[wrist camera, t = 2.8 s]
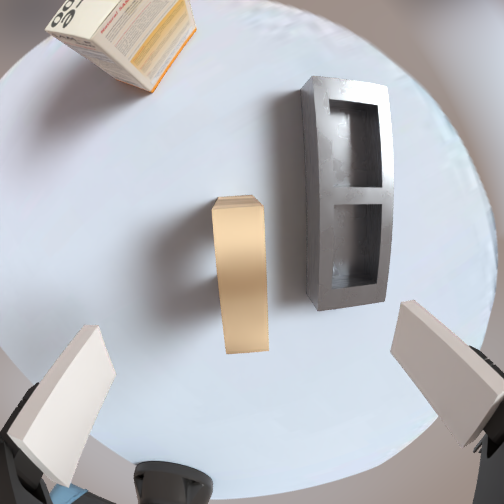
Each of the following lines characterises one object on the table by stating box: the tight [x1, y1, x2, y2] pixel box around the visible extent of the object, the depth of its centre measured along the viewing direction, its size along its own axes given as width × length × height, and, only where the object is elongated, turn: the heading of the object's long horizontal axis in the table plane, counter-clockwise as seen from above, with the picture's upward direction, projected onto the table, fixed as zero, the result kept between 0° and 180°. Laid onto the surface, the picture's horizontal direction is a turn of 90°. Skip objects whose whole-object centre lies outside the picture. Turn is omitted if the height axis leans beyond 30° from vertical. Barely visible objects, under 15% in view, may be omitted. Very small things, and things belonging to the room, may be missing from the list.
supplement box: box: [45, 0, 197, 93], centre depth 14 cm, size 8×5×13 cm, turn 150°
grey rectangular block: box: [300, 76, 394, 311], centre depth 23 cm, size 20×7×4 cm, turn 3°
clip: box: [212, 195, 269, 354], centre depth 21 cm, size 10×3×9 cm, turn 3°
